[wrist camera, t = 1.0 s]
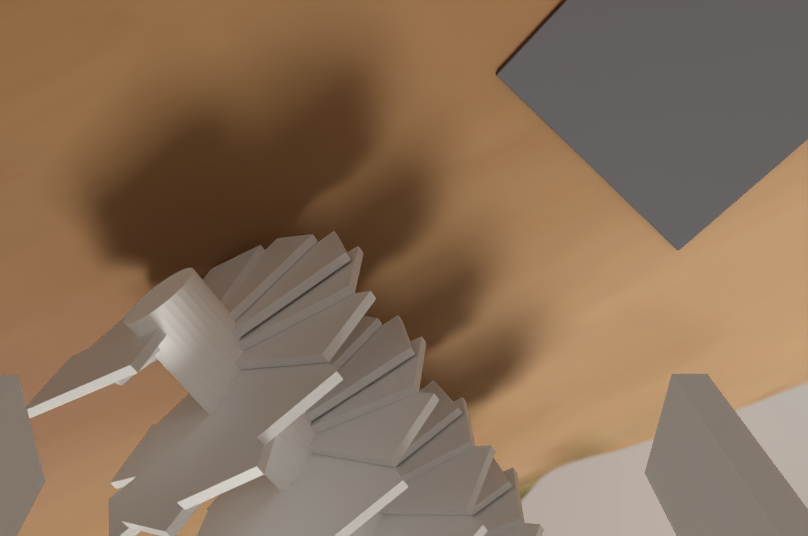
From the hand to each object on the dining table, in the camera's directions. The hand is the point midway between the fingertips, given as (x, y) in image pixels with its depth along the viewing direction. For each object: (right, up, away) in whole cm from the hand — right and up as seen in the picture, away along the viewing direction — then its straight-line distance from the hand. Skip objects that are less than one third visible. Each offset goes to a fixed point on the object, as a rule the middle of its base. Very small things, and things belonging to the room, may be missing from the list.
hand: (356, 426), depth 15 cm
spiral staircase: (-4, -3, +31) cm, 32 cm away
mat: (+18, +15, +23) cm, 33 cm away
